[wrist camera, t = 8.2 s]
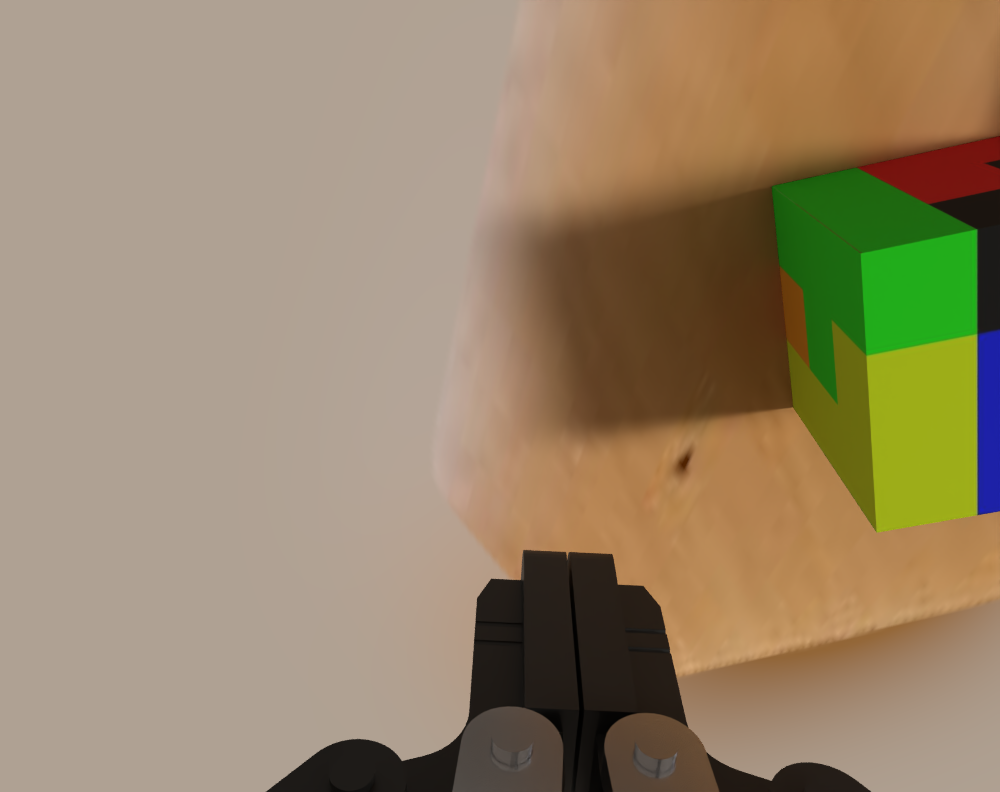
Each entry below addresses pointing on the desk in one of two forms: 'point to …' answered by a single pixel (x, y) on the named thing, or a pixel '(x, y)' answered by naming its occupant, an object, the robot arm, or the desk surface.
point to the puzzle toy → (899, 328)
